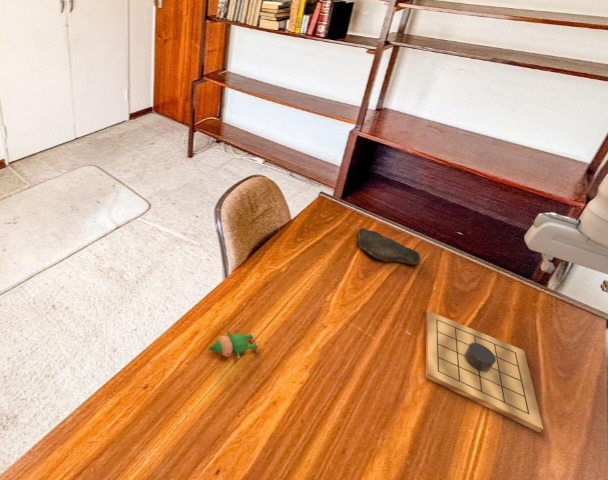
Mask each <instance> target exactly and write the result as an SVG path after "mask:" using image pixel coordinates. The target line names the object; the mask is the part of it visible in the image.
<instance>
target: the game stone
mask: <svg viewBox="0 0 608 480" xmlns="http://www.w3.org/2000/svg"><path fill="white" fill-rule="evenodd" d="M464 355H465V358H466V360H467V362H468V363H469V364H470V365H472V366H473V367H474V368H476V369H478V370H480V371H484V372H487V371H489V370H490V369H491V368H492V366H493V365H494V363H495V361H496V358H495V356H494V354H493V353H492V352H491V351H490V350H489V349H488V348H487V347H485V346H483V345H481V344H478V343H471V344H470V345H469V346H468V348H467V350H466V352H465V354H464Z"/></svg>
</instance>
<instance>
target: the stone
mask: <svg viewBox="0 0 608 480" xmlns="http://www.w3.org/2000/svg"><path fill="white" fill-rule="evenodd" d="M357 239H358V247H359V248H360V249H361V250H363V251H364V252H365V254H368V255H369V256H371V257H373V258H375V259H376V260H379V261H381V262H386V263H388V262H398V263H403V264H406V265H409V266H413V265H416V264H418V263H419V261H420V260H421V257H420V253H419V252H418V251H416V250H414V249H412V248H410V247H406V246H405V245H403V244H400V243H399V242H397V241H396V240H394V239H392V238H389V237H386V236H384V235H382V234H381V233H380V232H377V231H374V230H369V229H367V228H363V227H361V228H360V229H359V230H358V232H357Z"/></svg>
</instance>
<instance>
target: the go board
mask: <svg viewBox="0 0 608 480" xmlns="http://www.w3.org/2000/svg"><path fill="white" fill-rule="evenodd" d="M471 343H478V344H481V345H483V346H485V347H487V348H488V349H489V350H490V351H491V352H492V353H493V354H494V356H495V358H496V361H495V363H494V365H493V366H492V368H491V369H490V370H489V371H487V372H484V371H480V370H478V369H476V368H474V367H473V366H472V365H470V364H469V363H468V362H467V360H466V358H465V355H464V354H465V352H466V350H467V348H468V346H469V345H470V344H471ZM527 360H528V359H527V356H526V352H525V350H524V349H521V348H520V347H517V346H515V345H512V344H510V343H507V342H505V341H502V340H501V339H498V338H495V337H493V336H490V335H488V334H485V333H483V332H481V331H478V330H475V329H474V328H471V327H468V326H466V325H464V324H461V323H459V322H457V321H454V320H452V319H449V318H447V317H444V316H442V315H439V314H437V313H435V312H432V311H430V310H427V311H426V313H425V378H426V379H427V380H430V381H432V382H433V383H436V384H438V385H440V386H442V387H444V388H446V389H448V390H450V391H452V392H454V393H457V394H459V395H461V396H463V397H465V398H467V399H469V400H471V401H473V402H475V403H477V404H479V405H482V406H483V407H485V408H487V409H490V410H492V411H494V412H496V413H498V414H500V415H502V416H504V417H506V418H509V419H511V420H512V421H515V422H516V423H519V424H521V425H522V426H525V427H527V428H529V429H531V430H533V431H535V432H537V433H539V434H540V433H541V432H542V431H543V430H544V427H543V422H542V419H541V414H540V410H539V405H538V401H537V398H536V394H535V393H536V392H535V389H534V385H533V381H532V376H531V373H530V368H529V365H528V361H527Z"/></svg>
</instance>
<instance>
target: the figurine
mask: <svg viewBox="0 0 608 480" xmlns="http://www.w3.org/2000/svg"><path fill="white" fill-rule="evenodd" d="M225 332H226V334H227V335H228V336H227V335H221V336H218V338H217V340H216V342H214V343H213V344H212V345H211V346H209V348H208V350H209V351H212V352H213V353H217V354H219V355H222V356H223V357H227V358H229V357H231V355H233V352H234V353H235V354H236V358H237V360H239V359H240V355H242V354H245V352H246V351H247V350H252V349H254V351H255V353H257V352H258V349H259V344H258V342H255V343H253V340H254V334H253V332H251V333H249V334H248V333H247V334H243V333H233V334H232V333H231V332H230V331H229V330H228V329H227V330H226V331H225ZM248 340H250V343H251V344H249V341H248Z"/></svg>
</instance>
